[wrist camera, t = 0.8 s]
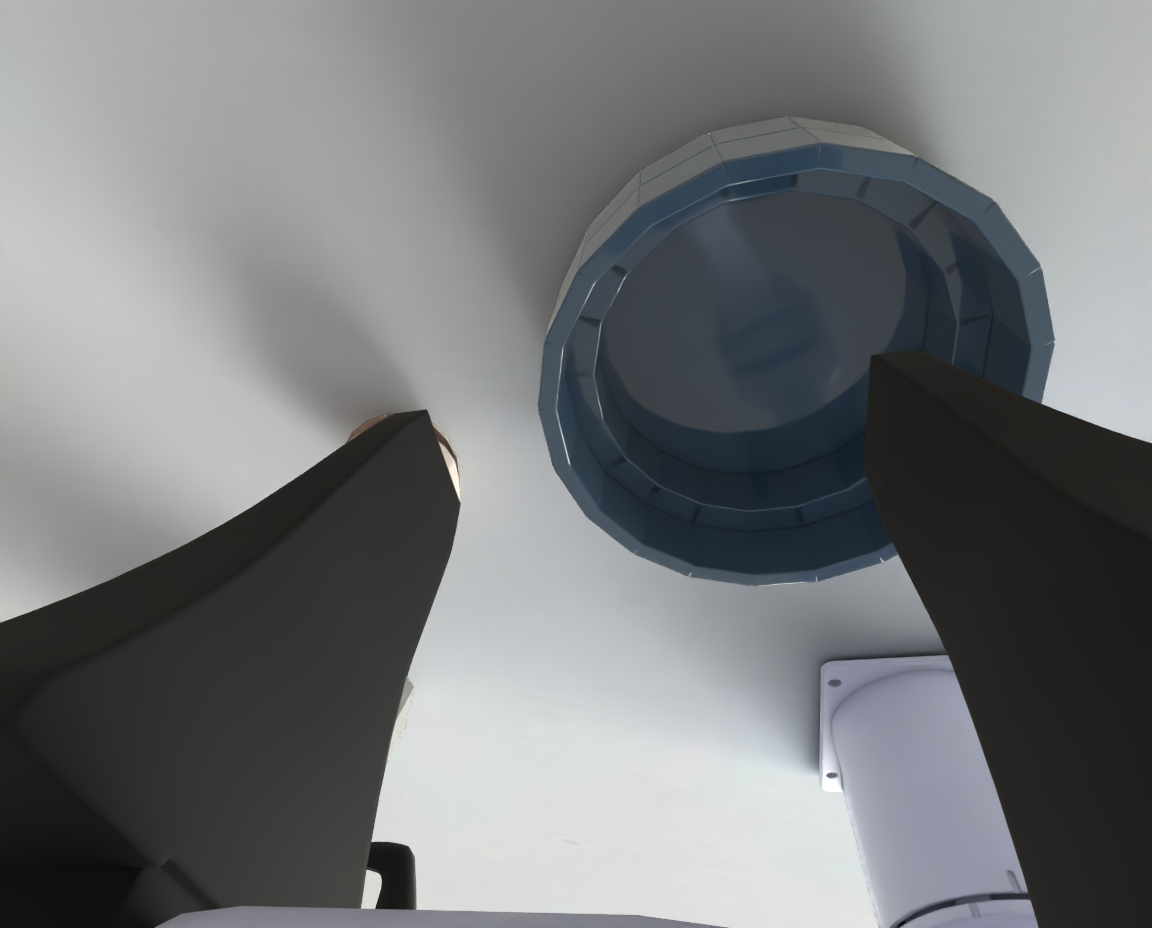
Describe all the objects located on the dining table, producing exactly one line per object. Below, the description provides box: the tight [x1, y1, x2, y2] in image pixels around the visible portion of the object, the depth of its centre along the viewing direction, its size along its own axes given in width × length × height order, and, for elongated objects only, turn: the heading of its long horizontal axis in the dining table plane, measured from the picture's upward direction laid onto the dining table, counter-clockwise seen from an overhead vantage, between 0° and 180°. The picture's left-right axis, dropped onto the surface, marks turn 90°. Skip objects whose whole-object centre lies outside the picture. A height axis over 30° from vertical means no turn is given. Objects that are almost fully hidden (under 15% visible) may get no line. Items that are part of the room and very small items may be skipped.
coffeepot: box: [367, 678, 416, 910], centre depth 24 cm, size 15×9×18 cm, turn 98°
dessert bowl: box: [538, 116, 1055, 586], centre depth 18 cm, size 12×12×4 cm
